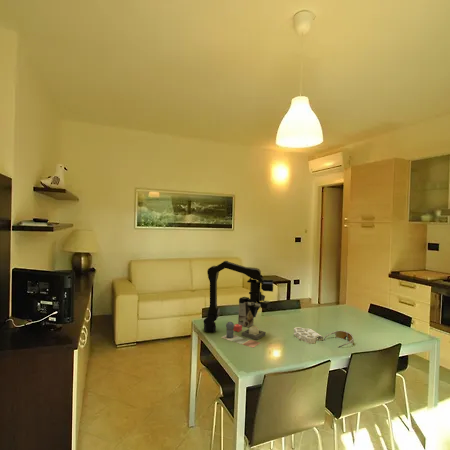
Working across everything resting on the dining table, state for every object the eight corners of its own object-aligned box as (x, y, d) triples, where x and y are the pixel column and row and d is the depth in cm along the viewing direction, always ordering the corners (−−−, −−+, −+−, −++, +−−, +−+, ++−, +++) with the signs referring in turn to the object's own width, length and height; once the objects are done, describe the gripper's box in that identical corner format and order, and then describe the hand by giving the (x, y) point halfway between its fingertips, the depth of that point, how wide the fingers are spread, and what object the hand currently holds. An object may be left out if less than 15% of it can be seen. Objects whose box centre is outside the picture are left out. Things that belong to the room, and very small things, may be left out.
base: (241, 337, 178) (241, 332, 178) (250, 332, 186) (250, 328, 186) (256, 342, 172) (256, 336, 172) (265, 337, 180) (265, 331, 180)
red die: (232, 332, 186) (232, 325, 186) (236, 330, 189) (236, 323, 189) (238, 333, 184) (238, 326, 184) (241, 331, 187) (242, 325, 187)
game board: (219, 339, 174) (219, 337, 173) (229, 334, 182) (229, 332, 182) (252, 350, 161) (252, 348, 161) (262, 344, 169) (262, 342, 169)
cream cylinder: (246, 336, 178) (246, 326, 178) (251, 333, 183) (252, 323, 183) (255, 338, 175) (255, 328, 175) (260, 335, 180) (261, 325, 179)
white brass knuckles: (326, 343, 175) (303, 345, 171) (309, 331, 192) (288, 333, 188) (326, 337, 175) (303, 339, 171) (309, 326, 192) (288, 327, 188)
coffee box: (246, 328, 193) (247, 303, 193) (237, 326, 197) (238, 301, 196) (253, 325, 200) (254, 300, 200) (245, 322, 204) (246, 298, 204)
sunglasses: (358, 344, 174) (358, 336, 174) (340, 353, 167) (339, 344, 166) (338, 335, 186) (337, 327, 186) (320, 343, 179) (319, 335, 179)
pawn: (224, 337, 175) (224, 321, 175) (228, 334, 179) (229, 320, 179) (230, 339, 172) (231, 323, 172) (235, 336, 176) (235, 321, 176)
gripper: (276, 290, 180) (275, 317, 180) (248, 285, 190) (247, 310, 191) (266, 293, 170) (266, 321, 171) (238, 288, 181) (238, 315, 182)
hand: (254, 317), depth 179 cm, fingers closed
